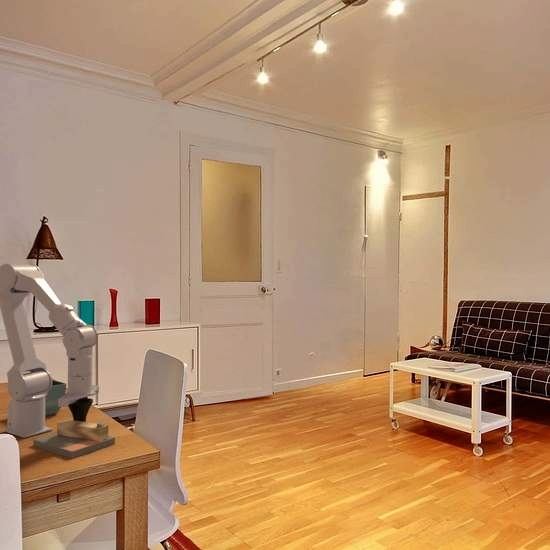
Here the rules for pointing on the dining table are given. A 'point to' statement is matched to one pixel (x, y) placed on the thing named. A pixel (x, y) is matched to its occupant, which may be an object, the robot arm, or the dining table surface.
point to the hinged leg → (82, 430)
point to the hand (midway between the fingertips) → (79, 428)
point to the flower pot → (54, 397)
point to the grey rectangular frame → (70, 445)
